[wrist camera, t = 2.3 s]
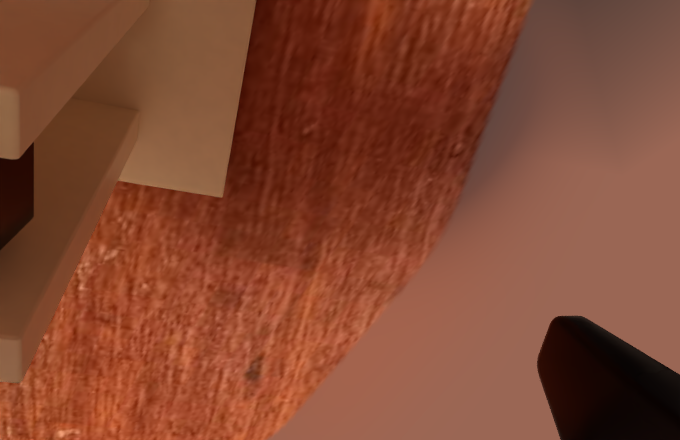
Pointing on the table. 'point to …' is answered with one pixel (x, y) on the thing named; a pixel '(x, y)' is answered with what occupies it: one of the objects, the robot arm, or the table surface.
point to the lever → (16, 195)
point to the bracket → (106, 127)
